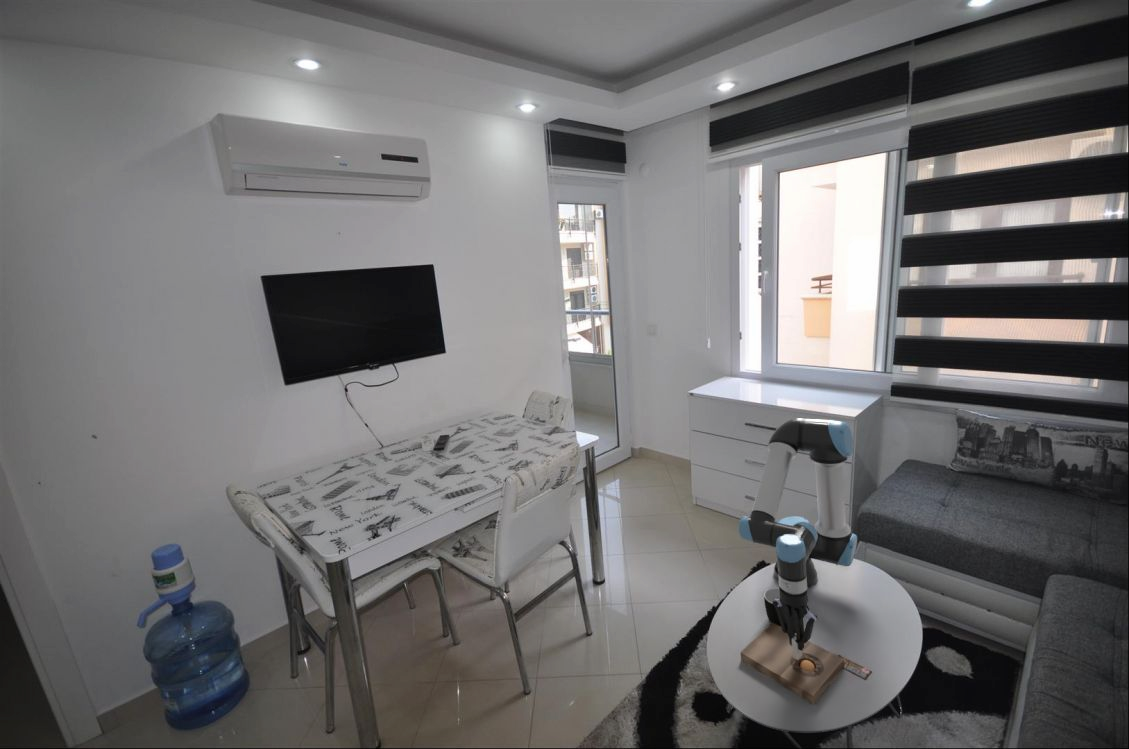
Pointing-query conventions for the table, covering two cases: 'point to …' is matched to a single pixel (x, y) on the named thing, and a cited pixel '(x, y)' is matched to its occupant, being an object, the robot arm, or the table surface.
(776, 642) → the wooden board
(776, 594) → the mug
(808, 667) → the ball
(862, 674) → the chocolate bar
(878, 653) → the table surface
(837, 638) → the table surface
